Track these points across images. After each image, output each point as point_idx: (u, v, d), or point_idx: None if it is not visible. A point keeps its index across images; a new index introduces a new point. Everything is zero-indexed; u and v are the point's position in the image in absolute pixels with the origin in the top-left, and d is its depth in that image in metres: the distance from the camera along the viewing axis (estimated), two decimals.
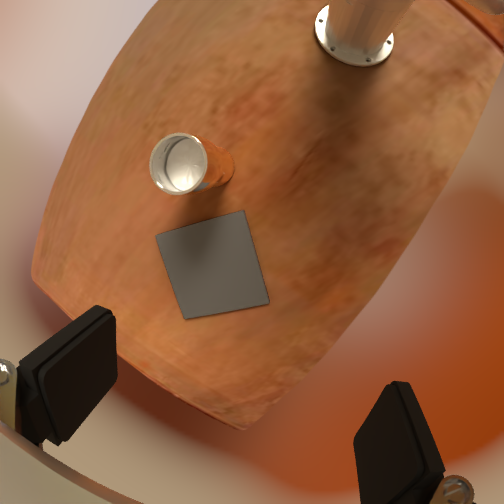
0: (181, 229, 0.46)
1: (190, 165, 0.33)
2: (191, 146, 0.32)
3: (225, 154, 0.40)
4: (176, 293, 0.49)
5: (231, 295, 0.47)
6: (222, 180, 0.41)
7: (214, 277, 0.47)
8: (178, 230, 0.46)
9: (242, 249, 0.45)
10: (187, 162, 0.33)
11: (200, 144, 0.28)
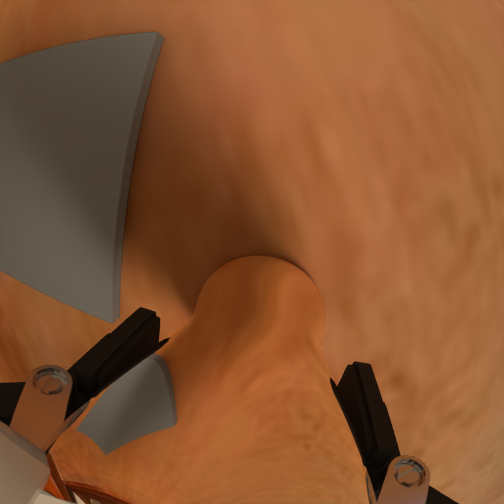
0: (128, 122, 0.12)
1: None
2: None
3: None
4: (27, 57, 0.11)
5: None
6: None
7: (14, 168, 0.13)
8: (129, 112, 0.12)
9: (41, 268, 0.14)
10: None
11: None
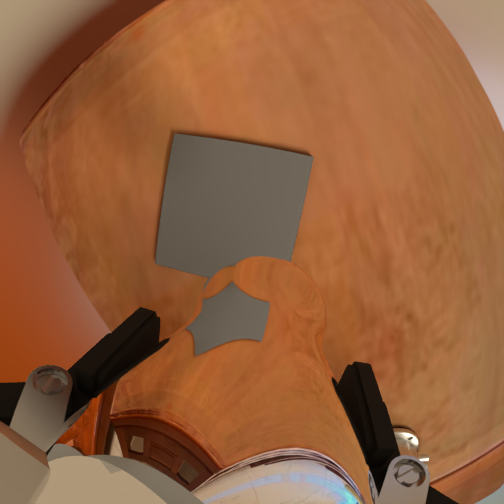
0: (302, 201, 0.30)
1: None
2: None
3: None
4: (215, 141, 0.29)
5: (182, 221, 0.32)
6: None
7: (214, 212, 0.31)
8: (302, 197, 0.30)
9: None
10: None
11: None
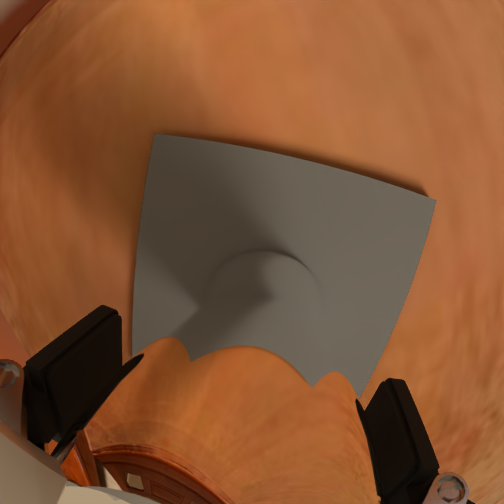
0: (407, 285, 0.14)
1: None
2: None
3: None
4: (241, 152, 0.14)
5: (173, 310, 0.16)
6: None
7: None
8: (409, 276, 0.14)
9: None
10: None
11: None
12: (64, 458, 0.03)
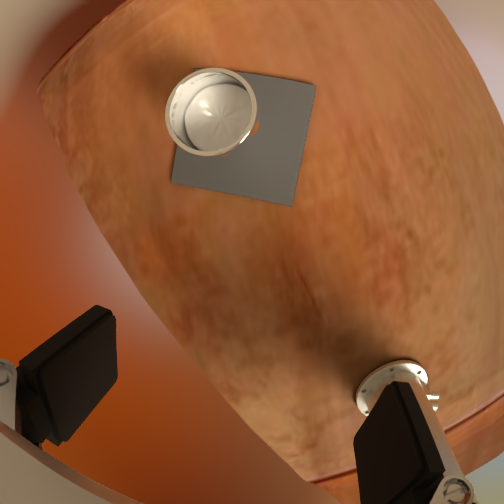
0: (307, 121, 0.32)
1: (219, 119, 0.22)
2: (243, 130, 0.22)
3: (242, 154, 0.31)
4: None
5: None
6: None
7: None
8: (307, 117, 0.31)
9: (247, 182, 0.34)
10: (224, 116, 0.22)
11: (216, 153, 0.19)
12: (194, 82, 0.20)
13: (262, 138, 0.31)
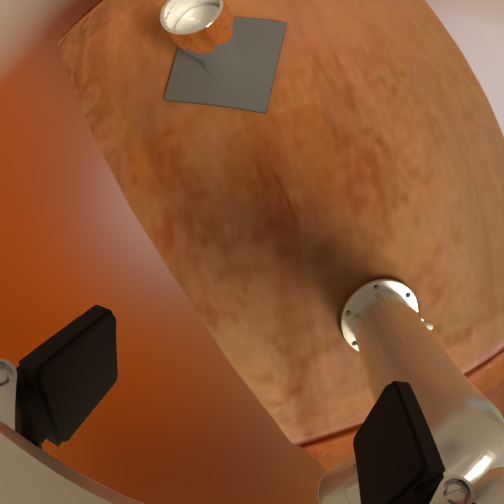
0: (278, 47, 0.34)
1: (200, 24, 0.25)
2: None
3: (223, 69, 0.34)
4: None
5: (189, 66, 0.36)
6: None
7: None
8: (279, 45, 0.34)
9: (228, 94, 0.37)
10: (204, 22, 0.24)
11: (192, 31, 0.22)
12: (183, 1, 0.22)
13: (239, 57, 0.33)
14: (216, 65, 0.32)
